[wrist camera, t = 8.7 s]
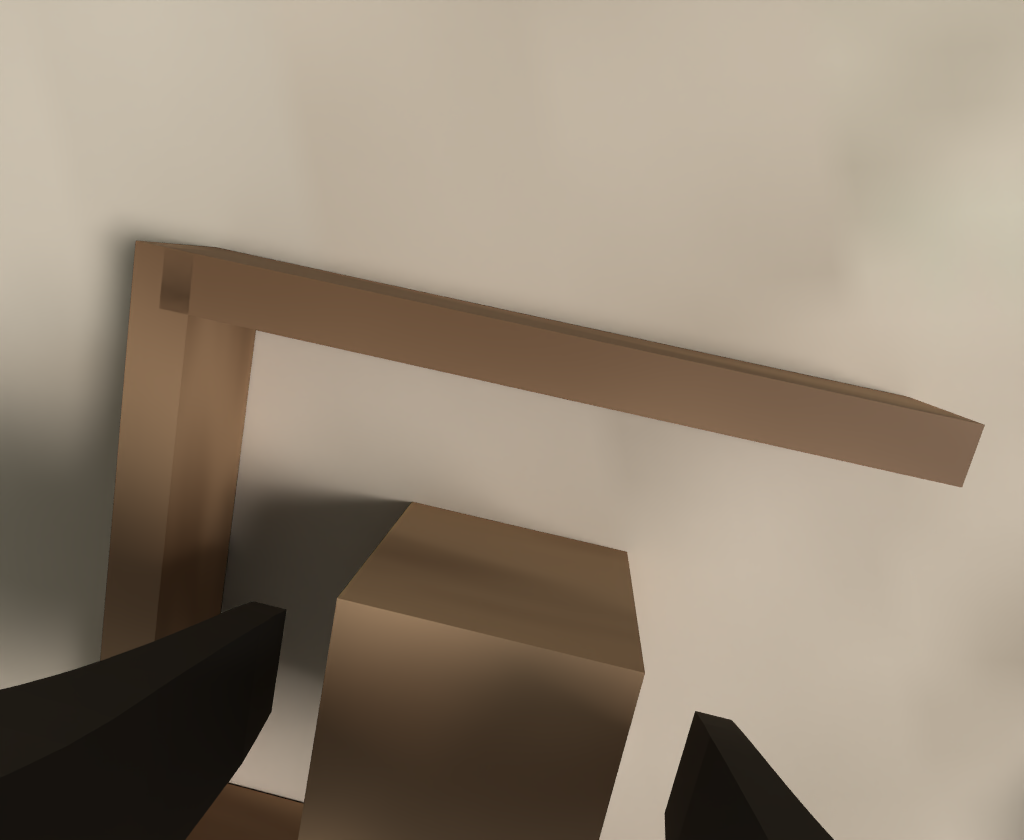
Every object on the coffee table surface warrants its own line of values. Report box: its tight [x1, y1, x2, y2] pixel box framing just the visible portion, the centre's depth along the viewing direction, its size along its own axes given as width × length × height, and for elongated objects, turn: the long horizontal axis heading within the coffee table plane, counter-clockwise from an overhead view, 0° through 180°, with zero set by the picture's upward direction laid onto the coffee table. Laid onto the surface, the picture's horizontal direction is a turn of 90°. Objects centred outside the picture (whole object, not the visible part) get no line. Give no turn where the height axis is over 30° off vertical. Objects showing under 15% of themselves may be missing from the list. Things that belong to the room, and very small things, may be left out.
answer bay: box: [100, 241, 985, 840], centre depth 13 cm, size 13×14×2 cm
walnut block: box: [298, 502, 645, 840], centre depth 13 cm, size 4×4×4 cm
